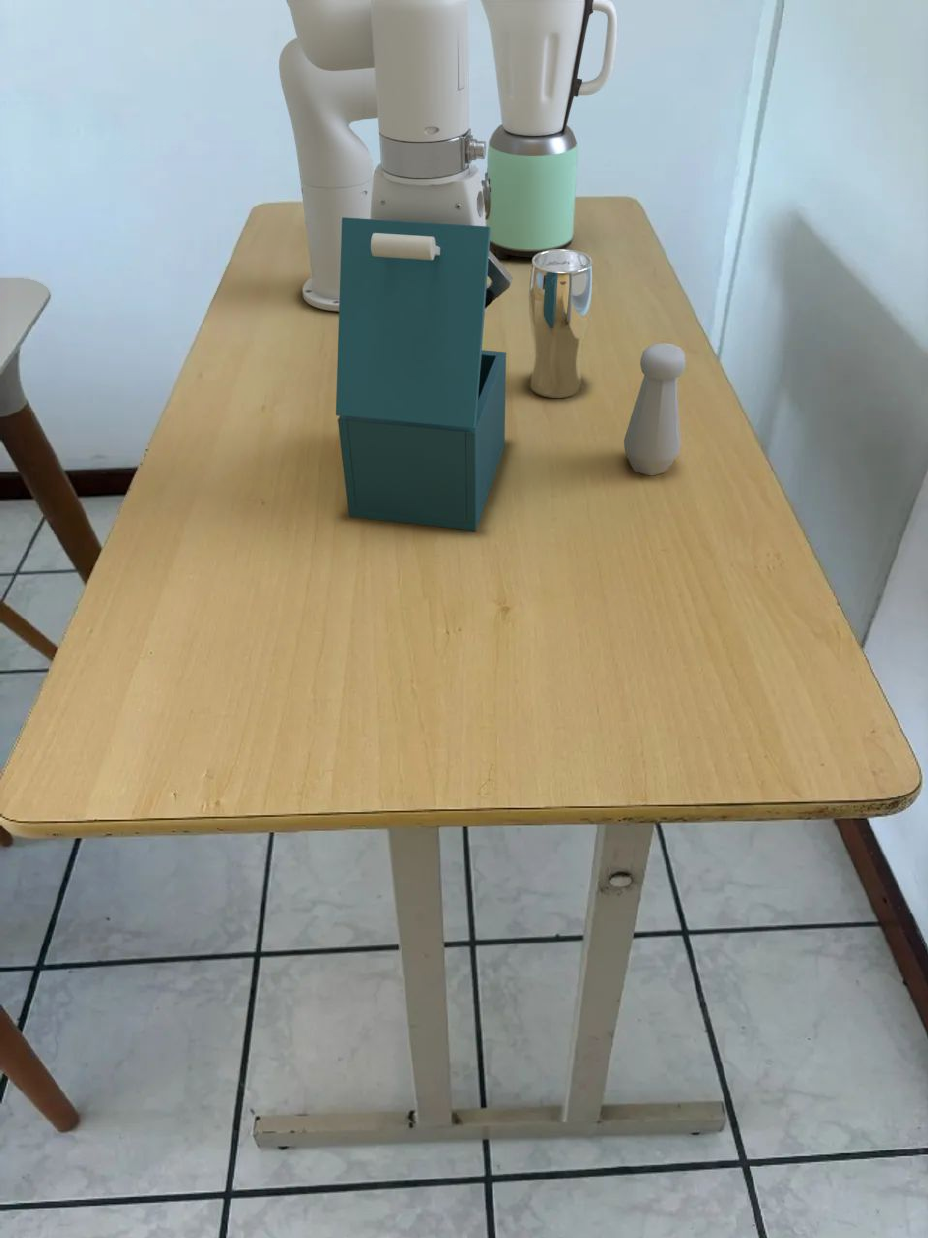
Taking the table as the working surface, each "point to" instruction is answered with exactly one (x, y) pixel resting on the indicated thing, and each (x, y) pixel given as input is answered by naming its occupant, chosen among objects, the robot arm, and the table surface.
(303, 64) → the robot arm
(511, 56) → the mint green blender
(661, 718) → the table surface
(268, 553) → the table surface
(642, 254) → the table surface
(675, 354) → the salt shaker
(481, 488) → the cool box
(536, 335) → the beer glass
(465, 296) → the lid
